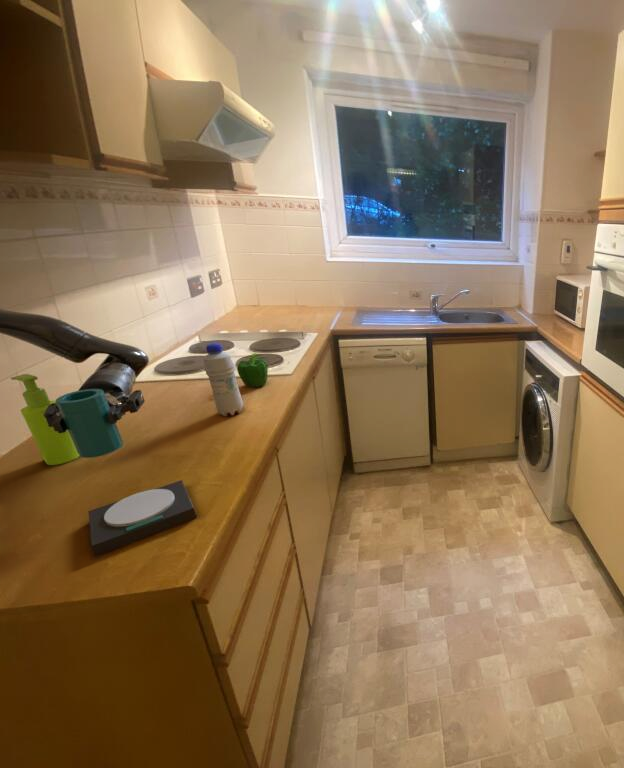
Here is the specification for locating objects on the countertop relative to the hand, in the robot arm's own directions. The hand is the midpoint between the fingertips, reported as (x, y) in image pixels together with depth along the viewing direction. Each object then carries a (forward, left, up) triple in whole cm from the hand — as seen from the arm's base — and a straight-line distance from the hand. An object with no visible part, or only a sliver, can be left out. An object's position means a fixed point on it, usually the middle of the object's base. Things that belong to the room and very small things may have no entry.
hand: (85, 423), depth 77 cm
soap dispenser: (-8, +30, -18) cm, 36 cm away
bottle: (+26, +30, -18) cm, 44 cm away
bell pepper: (+37, +47, -18) cm, 63 cm away
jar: (+1, +2, -6) cm, 7 cm away
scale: (+3, -9, -18) cm, 20 cm away
